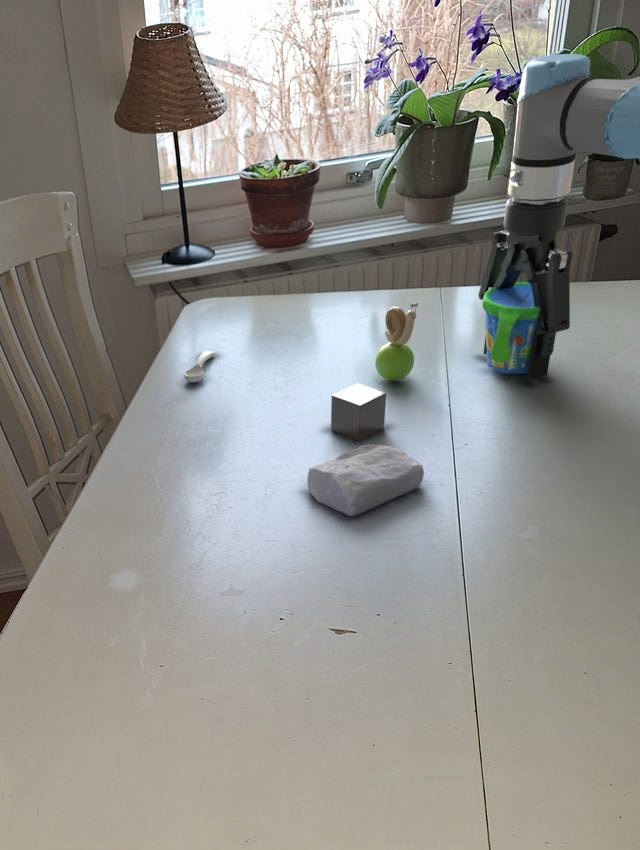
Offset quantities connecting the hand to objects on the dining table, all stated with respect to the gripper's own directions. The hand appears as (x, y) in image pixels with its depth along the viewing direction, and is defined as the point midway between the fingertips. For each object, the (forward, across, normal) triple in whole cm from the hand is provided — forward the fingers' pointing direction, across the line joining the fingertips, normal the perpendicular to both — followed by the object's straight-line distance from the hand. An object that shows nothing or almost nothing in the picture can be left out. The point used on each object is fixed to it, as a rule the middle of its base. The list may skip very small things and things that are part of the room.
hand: (514, 363), depth 132 cm
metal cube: (+1, +6, -28) cm, 29 cm away
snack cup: (0, 0, 0) cm, 0 cm away
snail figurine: (+1, -5, -16) cm, 17 cm away
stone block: (+1, +20, -35) cm, 40 cm away
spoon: (+1, -24, -39) cm, 46 cm away
